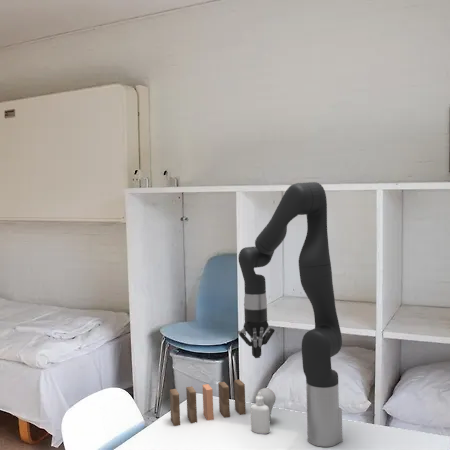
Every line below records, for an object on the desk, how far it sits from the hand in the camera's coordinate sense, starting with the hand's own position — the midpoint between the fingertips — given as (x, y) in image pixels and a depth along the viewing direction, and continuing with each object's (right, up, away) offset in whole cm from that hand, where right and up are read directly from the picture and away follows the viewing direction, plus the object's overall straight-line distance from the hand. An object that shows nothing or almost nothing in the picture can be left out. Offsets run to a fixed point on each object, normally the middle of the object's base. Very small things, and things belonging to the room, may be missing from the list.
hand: (256, 357), depth 179 cm
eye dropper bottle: (0, -19, -16) cm, 25 cm away
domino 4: (-11, -18, -2) cm, 21 cm away
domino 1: (-27, -19, -7) cm, 33 cm away
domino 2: (-21, -19, -6) cm, 29 cm away
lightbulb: (+3, -18, -10) cm, 21 cm away
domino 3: (-16, -19, -4) cm, 25 cm away
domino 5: (-6, -18, -1) cm, 19 cm away
